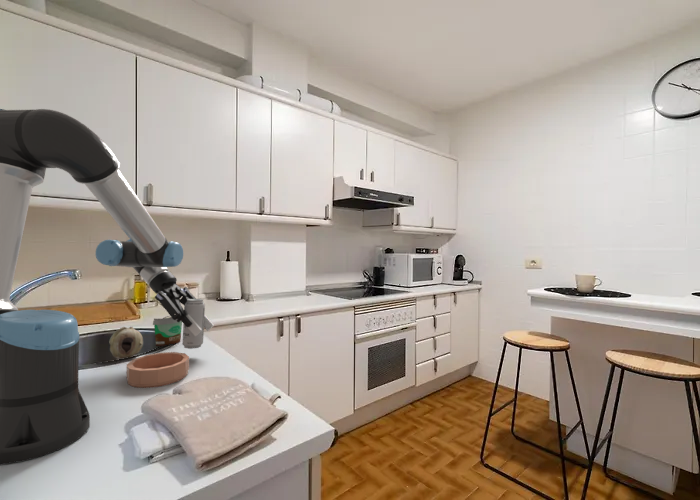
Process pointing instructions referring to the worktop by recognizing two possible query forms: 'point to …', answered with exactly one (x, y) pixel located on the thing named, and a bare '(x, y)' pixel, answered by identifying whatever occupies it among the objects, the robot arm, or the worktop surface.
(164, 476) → the worktop surface
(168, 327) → the food container
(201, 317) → the energy drink can
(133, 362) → the terracotta bowl
